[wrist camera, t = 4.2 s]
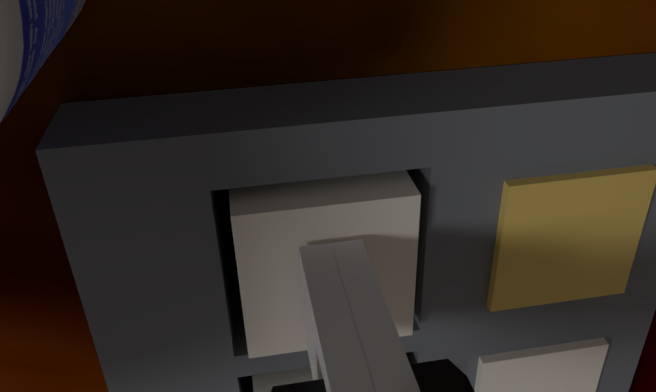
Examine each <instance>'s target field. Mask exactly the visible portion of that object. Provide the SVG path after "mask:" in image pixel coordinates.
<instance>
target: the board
mask: <svg viewBox="0 0 656 392" xmlns="http://www.w3.org/2000/svg"><path fill="white" fill-rule="evenodd" d="M35 152H36V155H37V158H38V161H39V165H40V168H41V171H42V174H43V178H44V181H45V184H46V188H47V191H48V194H49V197H50V201H51V204H52V207H53V210H54V214H55V217H56V220H57V224H58V227H59V230H60V233H61V237H62V240H63V243H64V246H65V250H66V253H67V256H68V260H69V263H70V266H71V269H72V273H73V276H74V279H75V282H76V286H77V289H78V292H79V296H80V299H81V302H82V305H83V309H84V312H85V315H86V318H87V322H88V325H89V328H90V332H91V335H92V338H93V341H94V345H95V348H96V351H97V354H98V358H99V361H100V364H101V368H102V371H103V374H104V377H105V381H106V384H107V387H108V390H109V392H244V386H243V379H242V377H245V376H251V375H258V374H265V373H272V372H278V371H285V370H292V369H299V368H305V367H310V361H309V356H308V351H307V350H305V351H298V352H292V353H285V354H278V355H271V356H264V357H257V358H250V359H249V357H248V349H247V341H246V333H245V326H244V318H243V310H242V302H241V295H240V294H235V295H231V293H230V286H229V279H228V271H227V264H226V257H225V250H224V243H223V236H222V229H221V221H220V214H219V207H218V200H217V193H216V190H223V189H232V188H242V187H251V186H260V185H270V184H279V183H288V182H298V181H307V180H316V179H326V178H335V177H344V176H354V175H363V174H372V173H382V172H391V171H400V170H406V171H407V172H408V174H409V176H410V177H411V179H412V181H413V182H414V184H415V186H416V187H417V189H418V191H419V192H420V194H421V203H420V220H419V236H418V252H417V268H416V285H415V301H414V317H413V334H412V335H409V336H402V337H400V340H401V342H402V345H403V348H404V350H405V353H406V355H407V358H408V361H409V363H410V364H415V363H421V362H428V361H435V360H441V359H449V360H450V361H451V362H452V363H453V364H454V365H456V366H457V367H458V368H459V369H460V370H461V371H462V372H463V373H464V374H465V375H466V376H467V377H468V379H469V381H470V383H471V385H472V387H473V389H474V391H475V392H628V391H629V388H630V385H631V382H632V379H633V376H634V373H635V370H636V367H637V364H638V361H639V358H640V355H641V352H642V349H643V346H644V343H645V340H646V337H647V334H648V331H649V328H650V325H651V322H652V319H653V316H654V312H655V309H656V52H655V53H643V54H632V55H620V56H608V57H596V58H585V59H573V60H561V61H550V62H538V63H526V64H515V65H503V66H491V67H480V68H468V69H456V70H444V71H433V72H421V73H409V74H398V75H386V76H374V77H363V78H351V79H339V80H328V81H316V82H304V83H292V84H281V85H269V86H257V87H246V88H234V89H222V90H211V91H199V92H187V93H175V94H164V95H152V96H140V97H129V98H117V99H105V100H94V101H82V102H70V103H61V104H60V105H59V107H58V109H57V111H56V113H55V115H54V116H53V118H52V120H51V122H50V124H49V126H48V128H47V129H46V131H45V133H44V135H43V137H42V139H41V140H40V142H39V144H38V146H37V148H36V150H35Z"/></svg>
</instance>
